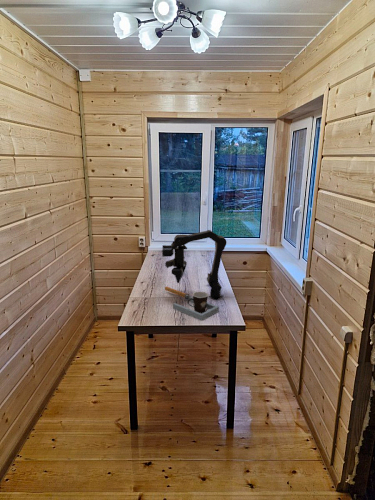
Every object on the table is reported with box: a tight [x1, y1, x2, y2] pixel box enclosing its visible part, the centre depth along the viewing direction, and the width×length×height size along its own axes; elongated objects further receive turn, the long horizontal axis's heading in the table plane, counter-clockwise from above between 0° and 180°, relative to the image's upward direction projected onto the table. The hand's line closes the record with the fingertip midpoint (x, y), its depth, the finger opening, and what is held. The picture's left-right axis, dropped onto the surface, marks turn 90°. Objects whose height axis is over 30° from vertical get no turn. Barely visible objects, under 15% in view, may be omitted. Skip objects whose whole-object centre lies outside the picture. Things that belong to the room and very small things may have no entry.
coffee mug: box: [187, 291, 209, 314], centre depth 183 cm, size 12×9×10 cm
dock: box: [172, 295, 220, 321], centre depth 186 cm, size 16×26×3 cm, turn 47°
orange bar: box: [164, 286, 190, 299], centre depth 204 cm, size 20×3×2 cm, turn 47°
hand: (179, 280), depth 197 cm, fingers open, 9 cm apart
